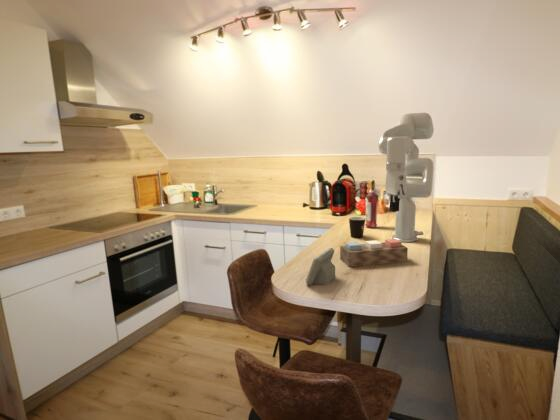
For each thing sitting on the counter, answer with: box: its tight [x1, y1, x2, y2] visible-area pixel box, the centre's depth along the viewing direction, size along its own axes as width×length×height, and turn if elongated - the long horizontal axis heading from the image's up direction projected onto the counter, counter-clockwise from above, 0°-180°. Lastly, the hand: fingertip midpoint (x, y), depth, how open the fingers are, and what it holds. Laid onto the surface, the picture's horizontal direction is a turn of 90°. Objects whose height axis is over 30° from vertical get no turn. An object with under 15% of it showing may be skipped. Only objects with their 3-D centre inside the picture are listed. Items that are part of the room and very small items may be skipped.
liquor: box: [364, 179, 379, 229], centre depth 212 cm, size 7×7×28 cm
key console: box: [339, 242, 409, 267], centre depth 154 cm, size 26×10×6 cm, turn 100°
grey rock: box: [305, 247, 336, 286], centre depth 133 cm, size 16×9×11 cm, turn 139°
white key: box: [365, 239, 383, 249], centre depth 153 cm, size 5×5×4 cm
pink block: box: [384, 238, 403, 248], centre depth 155 cm, size 5×5×4 cm
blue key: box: [345, 241, 362, 251], centre depth 152 cm, size 5×5×4 cm
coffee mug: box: [348, 216, 366, 239], centre depth 194 cm, size 12×9×10 cm
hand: (394, 210), depth 152 cm, fingers closed
